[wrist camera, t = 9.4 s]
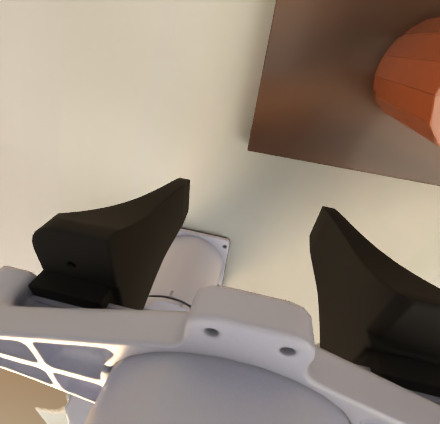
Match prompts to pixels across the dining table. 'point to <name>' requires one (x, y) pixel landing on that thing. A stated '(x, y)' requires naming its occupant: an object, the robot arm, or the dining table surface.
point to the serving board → (338, 88)
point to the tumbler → (412, 80)
